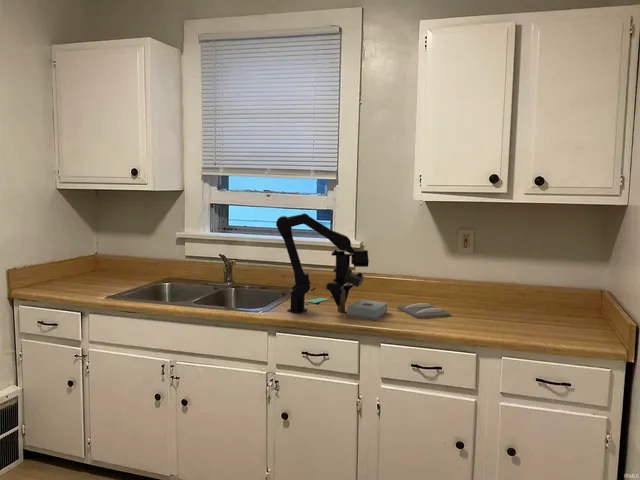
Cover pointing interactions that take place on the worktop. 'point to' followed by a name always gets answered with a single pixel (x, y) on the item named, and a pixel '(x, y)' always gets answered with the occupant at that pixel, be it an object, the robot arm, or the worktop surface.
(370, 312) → the hole block
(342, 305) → the dowel
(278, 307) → the worktop surface
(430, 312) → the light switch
